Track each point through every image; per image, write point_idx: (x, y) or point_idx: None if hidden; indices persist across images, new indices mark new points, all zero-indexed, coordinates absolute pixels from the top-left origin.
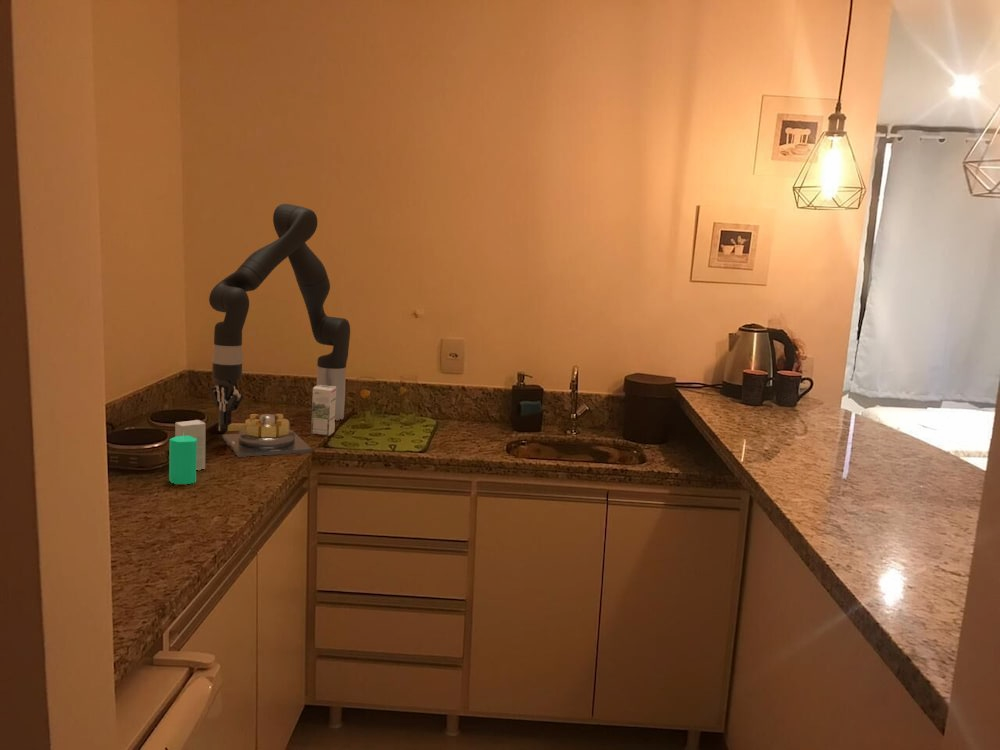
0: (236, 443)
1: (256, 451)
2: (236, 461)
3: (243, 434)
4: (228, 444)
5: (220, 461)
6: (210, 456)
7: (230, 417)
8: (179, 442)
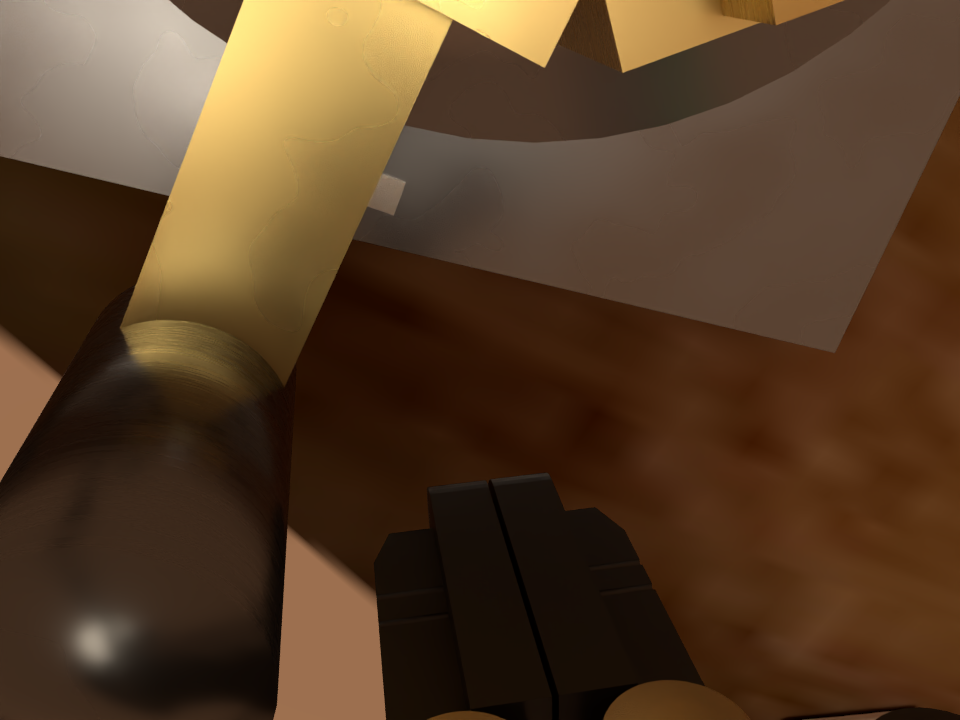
0: None
1: (906, 92)
2: (909, 401)
3: None
4: None
5: (801, 531)
6: None
7: (654, 609)
8: None
